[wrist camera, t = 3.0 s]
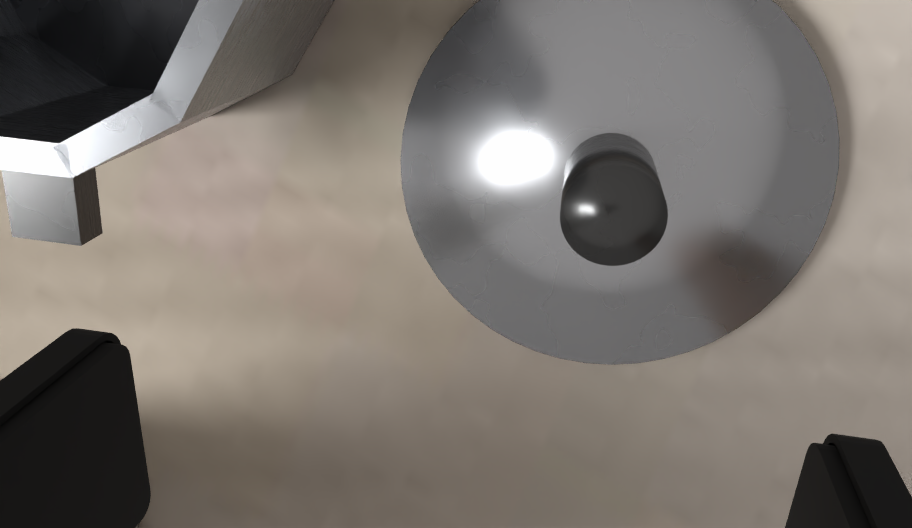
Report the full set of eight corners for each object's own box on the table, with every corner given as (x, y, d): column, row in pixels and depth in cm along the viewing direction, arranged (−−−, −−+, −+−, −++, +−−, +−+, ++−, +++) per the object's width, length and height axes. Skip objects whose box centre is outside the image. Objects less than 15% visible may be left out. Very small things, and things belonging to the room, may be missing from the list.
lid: (781, 376, 32) (816, 454, 27) (401, 332, 34) (370, 397, 29) (884, -42, 25) (954, -37, 20) (409, -65, 27) (371, -66, 22)
